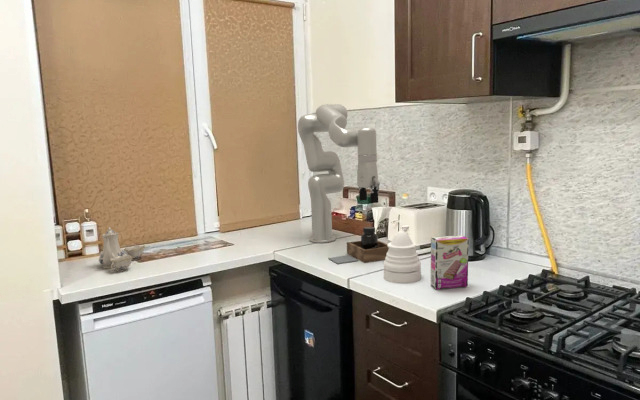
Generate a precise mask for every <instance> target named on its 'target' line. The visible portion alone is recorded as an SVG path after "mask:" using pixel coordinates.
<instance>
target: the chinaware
mask: <svg viewBox="0 0 640 400" xmlns="http://www.w3.org/2000/svg"><path fill="white" fill-rule="evenodd" d="M119 234H120V233H119V232H116V231H115V230H113V229H112V228H111V227H108V229H107V230H106V231H105V233H102V234H101V236H102V239H103V248H102V251H101V254H100V255H99V258H98V262H99V263H100V265H101V266H102V268H103V269H111V271H116V272H127V270H128V268H129V267H130V266H131V264H132V261H138V260H140V259H141V257H142V256H143V255H144V254H143V253H144V251H145V248H146V246H145V245H141V246H140V245H139V244H138V245H132V246H126V247H124V249H123V250H124V251H125V252H126V253H124V252H123V250H122V249H121V246H120V244H119Z"/></svg>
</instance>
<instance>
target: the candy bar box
mask: <svg viewBox="0 0 640 400" xmlns="http://www.w3.org/2000/svg"><path fill="white" fill-rule="evenodd" d="M469 242H470V241H469V238H468V237H466V236H464V235H448V236H447V235H446V236H431V237H430V287H432V288H433V289H435V290H446V289H457V288H458V289H459V288H460V289H461V288H468V283H469V281H468V280H469Z"/></svg>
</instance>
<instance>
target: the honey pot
mask: <svg viewBox="0 0 640 400" xmlns="http://www.w3.org/2000/svg"><path fill="white" fill-rule="evenodd" d="M401 229H402V230H398V231H397V232H396V233H395V235H394V236H393V238H392V240H391V241H389V242H388V243H386V244H387V246H388V248H389V249H388V252H387V254H386V255H387V256H386V258H385V260H383V279H384V280H385V281H386V282H390V283H394V284H395V283H396V284H411V283H415V282H418V281H420V280H421V278H422V268H421V267H422V266H421V261H420V257H419V255H418V252H417V249H416V247H417V244H416V243H415V242H413V241H412V239H411V237H410V236H409V234H408V233H407V232H408V231H409V229H410V226H409V225H408V224H407V225H401Z"/></svg>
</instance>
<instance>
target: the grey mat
mask: <svg viewBox="0 0 640 400" xmlns="http://www.w3.org/2000/svg"><path fill="white" fill-rule="evenodd" d="M328 260H329V261H331V262H332V263H335V264H337V265H342V264H343V265H344V264H348V263H356V262H359V260H358V259H356V258H354V257H352V256H350V255H348V254H346V255H341V256H340V255H339V256H332V257H328Z"/></svg>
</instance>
